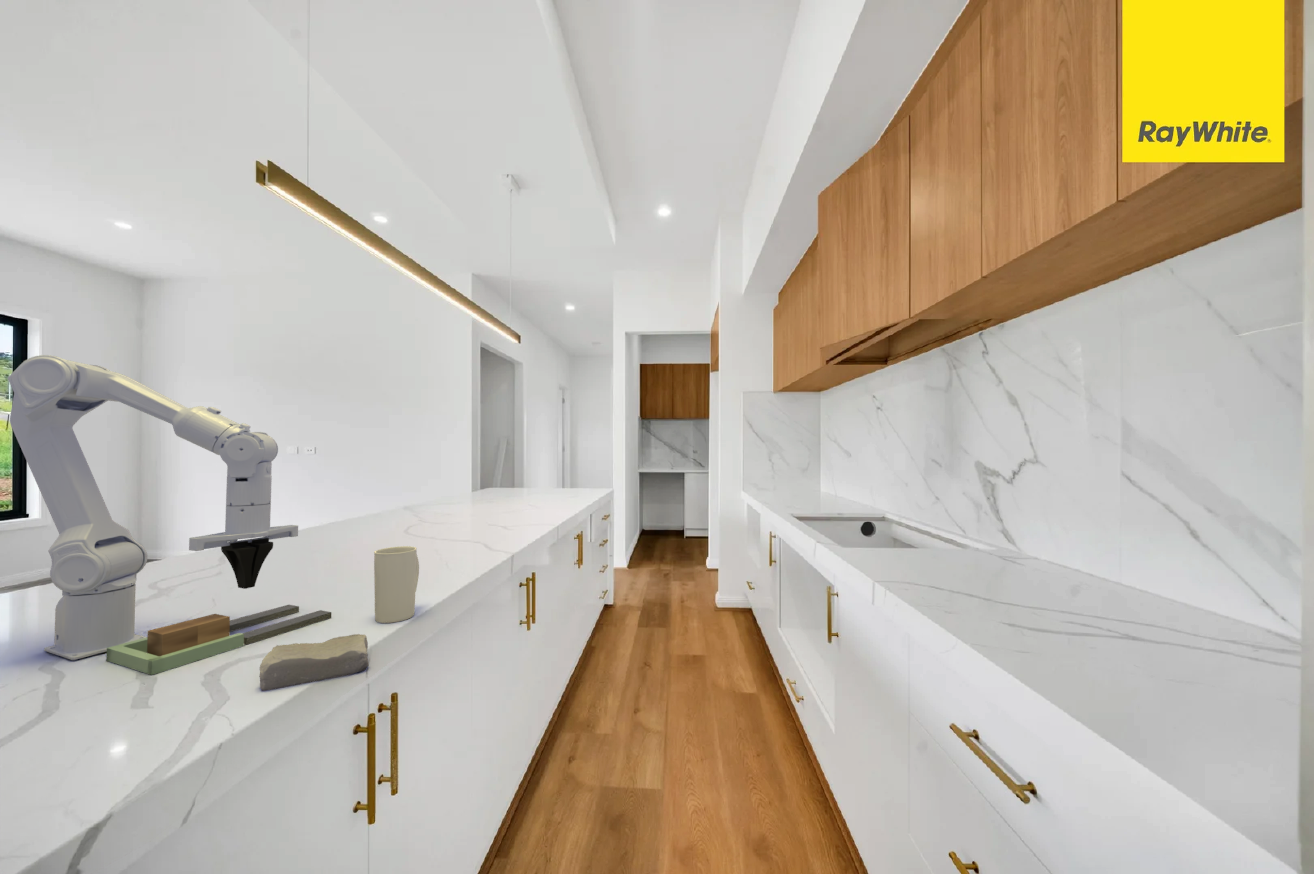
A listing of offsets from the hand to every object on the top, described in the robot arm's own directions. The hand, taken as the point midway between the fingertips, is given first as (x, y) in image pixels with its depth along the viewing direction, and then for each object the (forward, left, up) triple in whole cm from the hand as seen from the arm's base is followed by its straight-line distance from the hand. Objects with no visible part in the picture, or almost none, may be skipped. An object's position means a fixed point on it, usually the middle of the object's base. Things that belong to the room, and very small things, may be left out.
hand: (246, 587), depth 80 cm
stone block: (+25, -4, -8) cm, 26 cm away
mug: (+16, +16, -8) cm, 24 cm away
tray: (0, -9, -7) cm, 12 cm away
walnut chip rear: (0, -5, -8) cm, 9 cm away
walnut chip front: (0, -9, -8) cm, 12 cm away
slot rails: (0, +4, -7) cm, 8 cm away
